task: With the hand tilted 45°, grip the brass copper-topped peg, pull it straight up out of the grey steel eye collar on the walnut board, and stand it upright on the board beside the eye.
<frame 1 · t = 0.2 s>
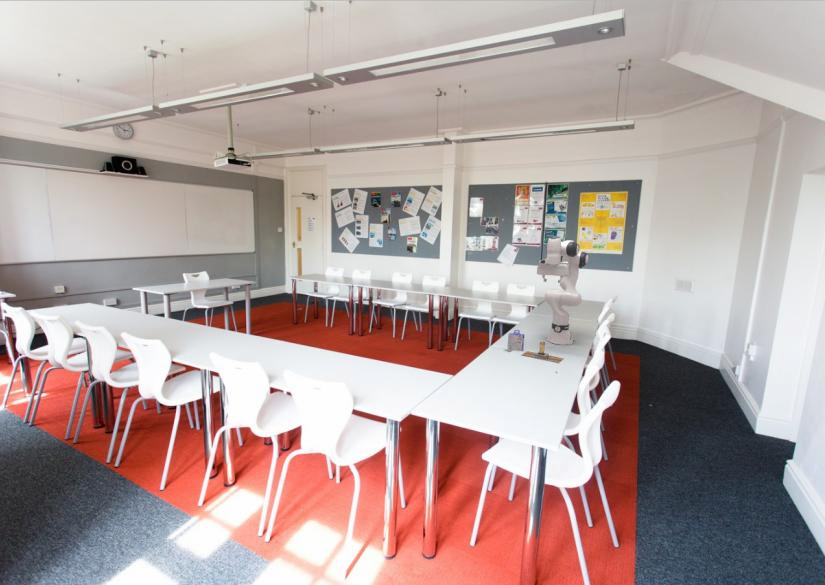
hand: (552, 282, 266), 48 cm above the table, tool pointing down, fingers open, 8 cm apart
ink cartridge box: (515, 351, 272), on the table
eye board: (542, 359, 257), on the table
brass copper-topped peg: (541, 357, 255), point 2 cm above the table, touching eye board
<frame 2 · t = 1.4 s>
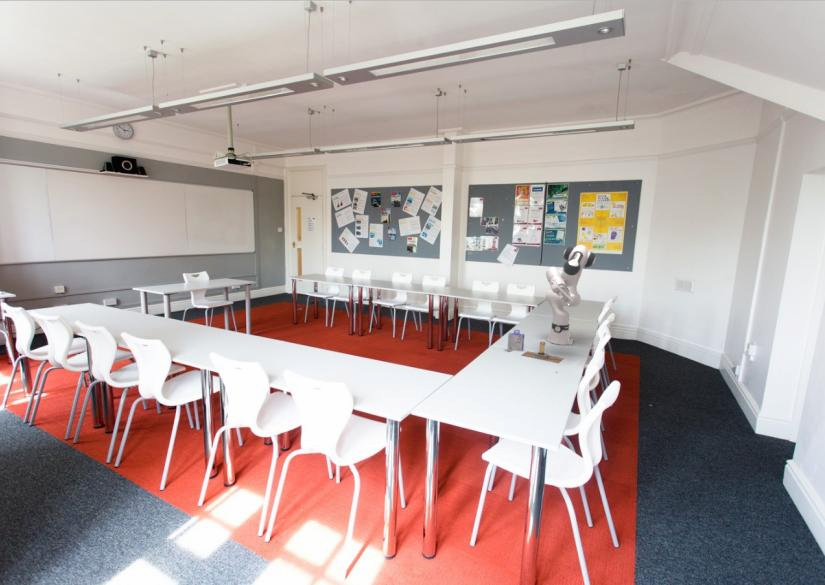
hand: (565, 302, 248), 38 cm above the table, tool tilted 55°, fingers open, 8 cm apart
nothing on the table moved.
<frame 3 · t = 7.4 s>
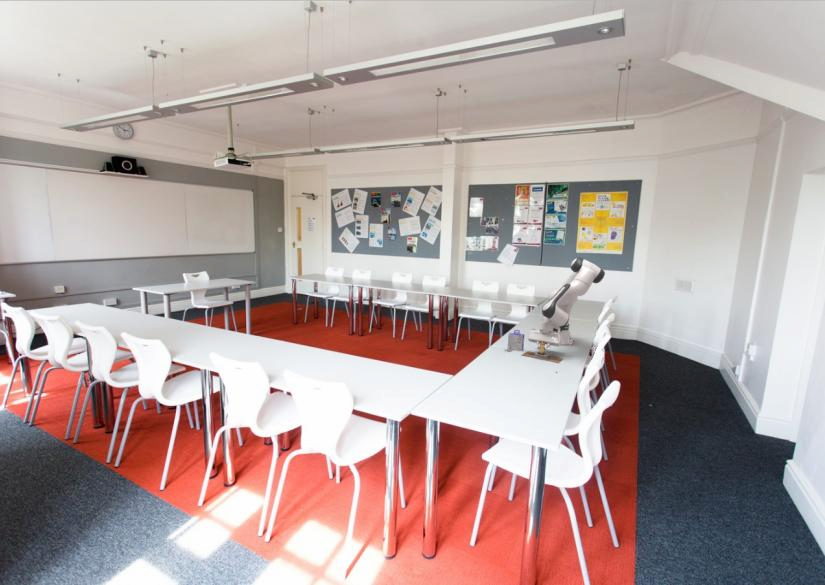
hand: (541, 348, 254), 7 cm above the table, tool tilted 45°, fingers closed on brass copper-topped peg, 3 cm apart
brass copper-topped peg: (541, 357, 255), point 2 cm above the table, touching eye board, gripper
everything else where it was.
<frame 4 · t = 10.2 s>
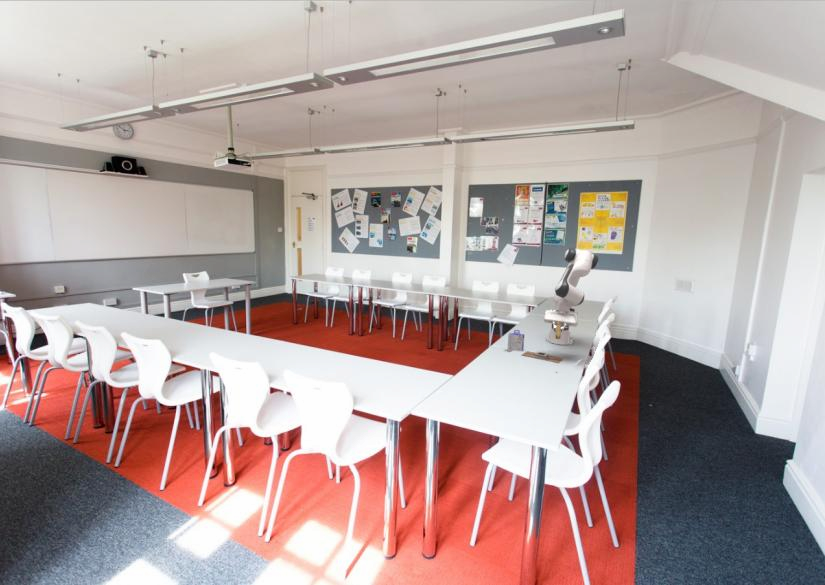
hand: (558, 329, 248), 21 cm above the table, tool tilted 45°, fingers closed on brass copper-topped peg, 3 cm apart
brass copper-topped peg: (557, 338, 250), point 15 cm above the table, touching gripper
everything else where it was.
when the fingers open (8 cm above the table, at t = 13.2 s): brass copper-topped peg stays where it is, resting on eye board.
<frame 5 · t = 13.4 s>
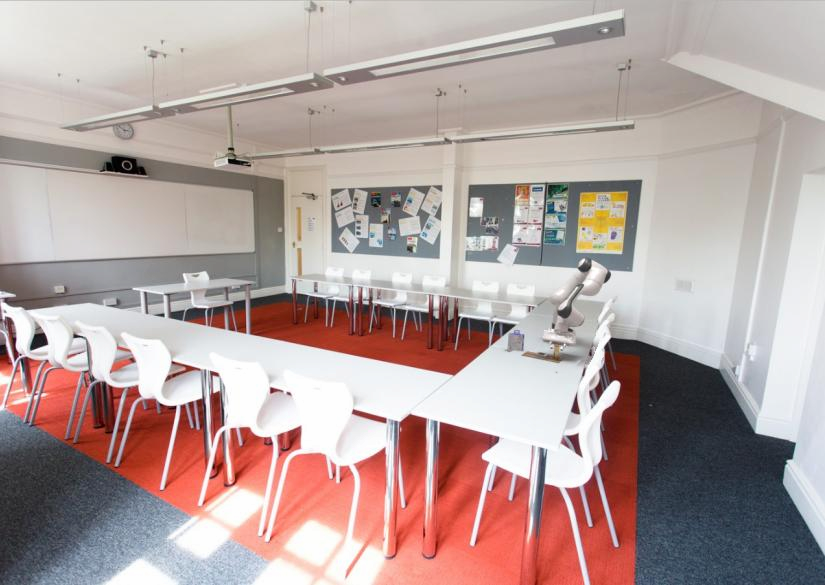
hand: (556, 349, 250), 8 cm above the table, tool tilted 45°, fingers open, 5 cm apart
brass copper-topped peg: (555, 359, 252), point 2 cm above the table, touching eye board
everything else where it was.
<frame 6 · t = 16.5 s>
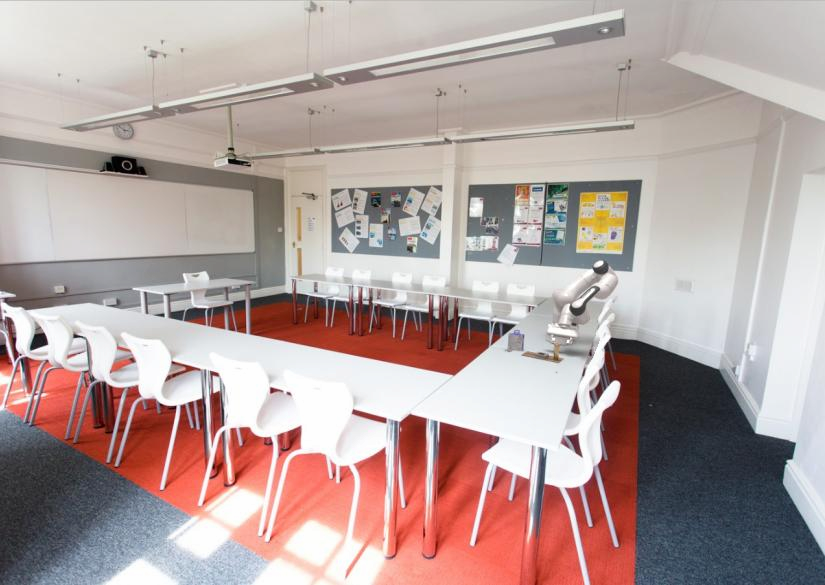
hand: (560, 342, 261), 10 cm above the table, tool tilted 45°, fingers open, 8 cm apart
nothing on the table moved.
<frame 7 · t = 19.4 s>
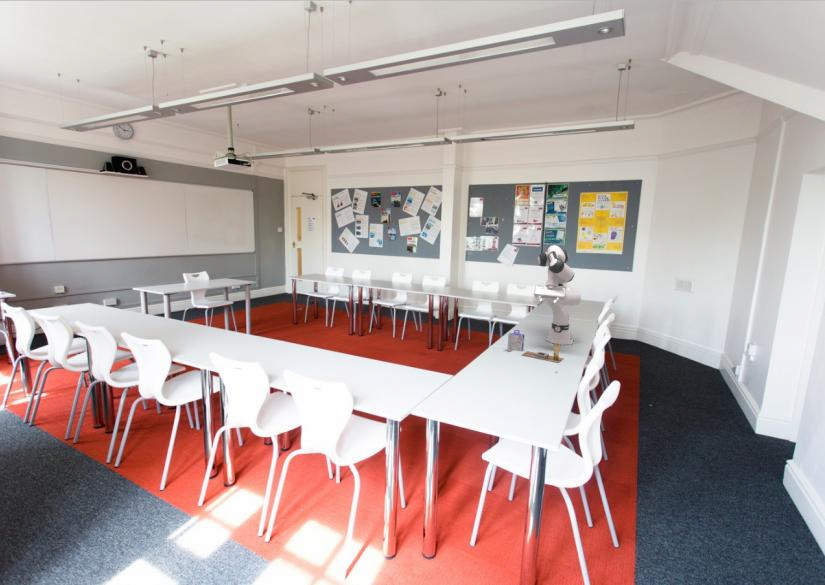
hand: (547, 302, 265), 34 cm above the table, tool tilted 45°, fingers open, 8 cm apart
nothing on the table moved.
at the end: brass copper-topped peg 0.0 cm from the target spot on the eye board, point 1.5 cm above the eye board's base; brass copper-topped peg tilted 1°; the gripper is holding nothing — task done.
